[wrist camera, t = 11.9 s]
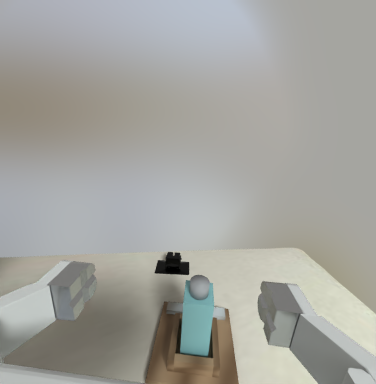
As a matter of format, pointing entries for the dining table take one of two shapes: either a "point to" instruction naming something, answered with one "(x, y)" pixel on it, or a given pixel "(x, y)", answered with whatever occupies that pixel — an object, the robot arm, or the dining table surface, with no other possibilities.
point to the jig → (186, 364)
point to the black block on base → (172, 265)
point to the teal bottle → (197, 317)
